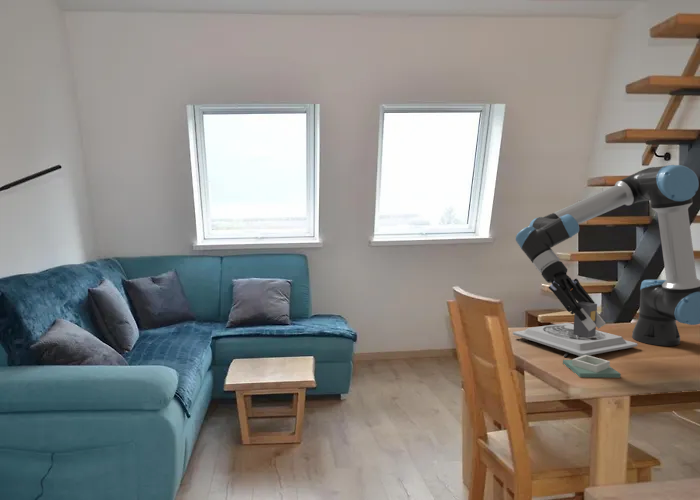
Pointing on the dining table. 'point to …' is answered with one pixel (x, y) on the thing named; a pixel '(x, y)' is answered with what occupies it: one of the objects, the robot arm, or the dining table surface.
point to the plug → (578, 325)
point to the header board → (592, 374)
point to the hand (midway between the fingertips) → (597, 327)
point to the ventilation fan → (574, 339)
